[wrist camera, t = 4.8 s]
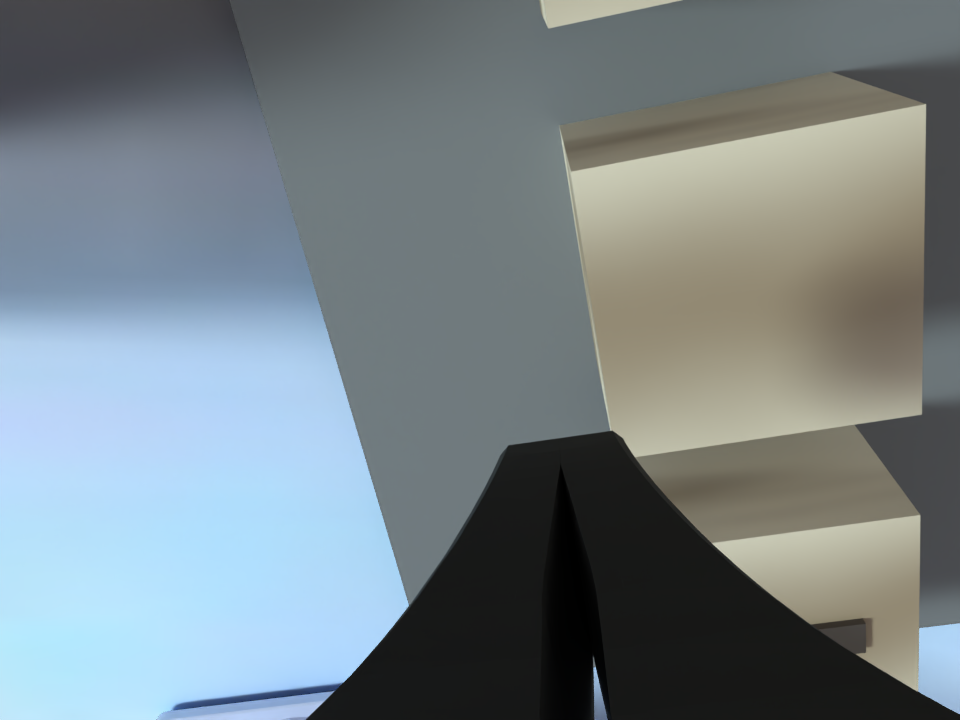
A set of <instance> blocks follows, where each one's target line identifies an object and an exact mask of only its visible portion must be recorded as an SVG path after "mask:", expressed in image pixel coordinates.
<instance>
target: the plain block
mask: <svg viewBox="0 0 960 720" xmlns="http://www.w3.org/2000/svg"><path fill="white" fill-rule="evenodd" d="M559 127H560V134H561V140H562V146H563V153H564V159H565V165H566V171H567V178H568V184H569V190H570V197H571V203H572V209H573V215H574V222H575V228H576V234H577V240H578V247H579V253H580V259H581V266H582V272H583V278H584V284H585V291H586V297H587V303H588V309H589V316H590V322H591V328H592V335H593V341H594V347H595V353H596V360H597V365H598V370H599V375H600V380H601V385H602V390H603V395H604V400H605V406H606V411H607V416H608V421H609V426H610V431H614V432H615V433H617V434H618V435H619V436H621V437H622V438H623V439H624V441H625V443H626V445H627V446H628V448H629V449H630V451H631V452H632V454H633V455H634V457H640V456H647V455H654V454H660V453H667V452H674V451H681V450H687V449H694V448H701V447H707V446H714V445H721V444H728V443H734V442H741V441H748V440H755V439H761V438H768V437H775V436H781V435H788V434H795V433H802V432H808V431H815V430H822V429H828V428H835V427H842V426H849V425H855V424H862V423H869V422H876V421H882V420H889V419H896V418H902V417H909V416H916V415H922V370H923V297H924V224H925V151H926V104H924V103H921V102H918V101H916V100H913V99H910V98H907V97H904V96H901V95H898V94H895V93H892V92H889V91H886V90H883V89H880V88H877V87H874V86H871V85H868V84H865V83H862V82H859V81H856V80H853V79H850V78H848V77H845V76H842V75H839V74H836V73H833V72H828V73H823V74H818V75H813V76H808V77H803V78H797V79H792V80H787V81H782V82H777V83H772V84H767V85H762V86H757V87H752V88H747V89H742V90H737V91H732V92H727V93H721V94H716V95H711V96H706V97H701V98H696V99H691V100H686V101H681V102H676V103H671V104H666V105H661V106H656V107H651V108H645V109H640V110H635V111H630V112H625V113H620V114H615V115H610V116H605V117H600V118H595V119H590V120H585V121H580V122H575V123H569V124H564V125H559Z"/></svg>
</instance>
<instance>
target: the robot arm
mask: <svg viewBox="0 0 960 720" xmlns="http://www.w3.org/2000/svg"><path fill="white" fill-rule="evenodd" d="M593 657H594V661H595V666H596V670H597V674H598V679H599V683H600V688H601V692H602V696H603V701H604V705H605V710H606V714H607V718H608V720H960V714H958V713H956V712H954V711H952V710H950V709H948V708H946V707H944V706H942V705H941V704H939V703H937V702H935V701H934V700H932V699H930V698H928V697H926V696H925V695H923V694H921V693H919V692H917V691H916V690H914V689H912V688H911V687H909V686H907V685H906V684H904V683H902V682H901V681H899V680H897V679H896V678H894V677H892V676H891V675H889V674H887V673H886V672H884V671H882V670H881V669H879V668H877V667H876V666H874V665H872V664H871V663H869V662H868V661H866V660H864V659H863V658H861V657H859V656H858V655H856V654H854V653H853V652H851V651H849V650H848V649H846V648H844V647H843V646H841V645H840V644H838V643H837V642H836V641H834V640H833V639H831V638H830V637H828V636H827V635H825V634H824V633H822V632H821V631H820V630H818V629H817V628H815V627H814V626H812V625H811V624H809V623H808V622H807V621H805V620H804V619H803V618H801V617H800V616H799V615H797V614H796V613H795V612H793V611H792V610H791V609H789V608H788V607H787V606H785V605H784V604H783V603H781V602H780V601H779V600H777V599H776V598H775V597H773V596H772V595H771V594H770V593H768V592H767V591H766V590H765V589H764V588H762V587H761V586H760V585H759V584H757V583H756V582H755V581H754V580H753V579H751V578H750V577H749V576H748V575H747V574H746V573H744V572H743V571H742V570H741V569H740V568H739V567H738V566H736V565H735V564H734V563H733V562H732V561H731V560H730V559H729V558H728V557H726V556H725V555H724V554H723V553H722V552H721V551H720V550H719V549H718V548H716V547H715V546H714V545H713V544H712V543H711V542H710V541H709V540H708V539H707V538H706V537H705V536H704V535H703V534H702V533H701V532H700V531H699V530H698V529H697V528H696V527H695V526H694V525H693V524H692V523H691V522H690V521H689V520H688V519H687V518H686V517H685V516H684V515H683V514H682V512H681V511H680V510H679V509H678V508H677V507H676V506H675V505H674V504H673V503H672V502H671V501H670V500H669V499H668V498H667V496H666V495H665V494H664V493H663V492H662V491H661V490H660V488H659V487H658V486H657V485H656V484H655V483H654V481H653V480H652V479H651V478H650V476H649V475H648V474H647V473H646V471H645V470H644V469H643V468H642V466H641V465H640V464H639V462H638V461H637V460H636V458H635V457H634V455H633V454H632V452H631V451H630V449H629V448H628V446H627V445H626V443H625V441H624V439H623V438H622V437H621V436H619V435H618V434H617V433H615V432H614V431H606V432H599V433H592V434H585V435H578V436H571V437H564V438H557V439H550V440H542V441H535V442H528V443H521V444H514V445H508V446H507V448H506V449H505V450H504V451H503V453H502V454H501V455H500V457H499V459H498V462H497V464H496V466H495V468H494V470H493V472H492V474H491V476H490V478H489V480H488V482H487V484H486V486H485V488H484V490H483V492H482V493H481V495H480V497H479V499H478V501H477V503H476V504H475V506H474V508H473V510H472V512H471V513H470V515H469V517H468V518H467V520H466V521H465V523H464V525H463V526H462V528H461V530H460V531H459V533H458V535H457V536H456V538H455V540H454V541H453V543H452V545H451V546H450V548H449V549H448V551H447V553H446V554H445V556H444V557H443V559H442V560H441V562H440V563H439V564H438V566H437V567H436V569H435V570H434V572H433V573H432V574H431V576H430V577H429V579H428V580H427V581H426V583H425V584H424V586H423V587H422V589H421V590H420V591H419V593H418V594H417V596H416V597H415V599H414V600H413V601H412V603H411V604H410V605H409V607H408V608H407V609H406V611H405V612H404V613H403V615H402V616H401V617H400V618H399V620H398V621H397V622H396V623H395V625H394V626H393V627H392V628H391V630H390V631H389V632H388V633H387V635H386V636H385V637H384V638H383V639H382V641H381V642H380V643H379V644H378V645H377V646H376V648H375V649H374V650H373V651H372V652H371V653H370V654H369V656H368V657H367V658H366V659H365V660H364V661H363V662H362V664H361V665H360V666H359V667H358V668H357V669H356V670H355V671H354V673H353V674H352V675H351V676H350V677H349V678H348V679H347V680H346V681H345V682H344V683H343V684H342V685H341V686H340V687H339V688H338V689H337V690H335V691H330V692H322V693H314V694H306V695H297V696H289V697H281V698H273V699H264V700H256V701H248V702H240V703H231V704H223V705H215V706H207V707H198V708H190V709H182V710H173V711H167V712H163V713H161V714H160V715H159V716H158V717H157V719H156V720H594V673H593Z"/></svg>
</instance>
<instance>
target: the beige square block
mask: <svg viewBox="0 0 960 720" xmlns="http://www.w3.org/2000/svg"><path fill="white" fill-rule="evenodd" d="M635 458H636V460H637V461H638V462H639V464H640V465H641V466H642V468H643V469H644V470H645V471H646V473H647V474H648V475H649V476H650V478H651V479H652V480H653V481H654V483H655V484H656V485H657V486H658V487H659V488H660V490H661V491H662V492H663V493H664V494H665V495H666V496H667V498H668V499H669V500H670V501H671V502H672V503H673V504H674V505H675V506H676V507H677V508H678V509H679V510H680V511H681V512H682V514H683V515H684V516H685V517H686V518H687V519H688V520H689V521H690V522H691V523H692V524H693V525H694V526H695V527H696V528H697V529H698V530H699V531H700V532H701V533H702V534H703V535H704V536H705V537H706V538H707V539H708V540H709V541H710V542H711V543H712V544H713V545H714V546H715V547H716V548H718V549H719V550H720V551H721V552H722V553H723V554H724V555H725V556H726V557H728V558H729V559H730V560H731V561H732V562H733V563H734V564H735V565H736V566H738V567H739V568H740V569H741V570H742V571H743V572H744V573H746V574H747V575H748V576H749V577H750V578H751V579H753V580H754V581H755V582H756V583H757V584H759V585H760V586H761V587H762V588H764V589H765V590H766V591H767V592H768V593H770V594H771V595H772V596H773V597H775V598H776V599H777V600H779V601H780V602H781V603H783V604H784V605H785V606H787V607H788V608H789V609H791V610H792V611H793V612H795V613H796V614H797V615H799V616H800V617H801V618H803V619H804V620H805V621H807V622H808V623H809V624H811V625H812V626H814V627H815V628H817V629H818V630H820V631H821V632H822V633H824V634H825V635H827V636H828V637H830V638H831V639H833V640H834V641H836V642H837V643H838V644H840V645H841V646H843V647H844V648H846V649H848V650H849V651H851V652H853V653H854V654H856V655H858V656H859V657H861V658H863V659H864V660H866V661H868V662H869V663H871V664H872V665H874V666H876V667H877V668H879V669H881V670H882V671H884V672H886V673H887V674H889V675H891V676H892V677H894V678H896V679H897V680H899V681H901V682H902V683H904V684H906V685H907V686H909V687H911V688H912V689H914V690H916V691H917V692H918V661H919V588H920V514H919V512H918V511H917V509H916V508H915V507H914V505H913V504H912V503H911V501H910V500H909V499H908V497H907V496H906V494H905V493H904V492H903V490H902V489H901V488H900V486H899V485H898V484H897V482H896V481H895V479H894V478H893V477H892V475H891V474H890V473H889V471H888V470H887V469H886V467H885V466H884V464H883V463H882V462H881V460H880V459H879V458H878V456H877V455H876V454H875V452H874V451H873V449H872V448H871V447H870V445H869V444H868V443H867V441H866V440H865V438H864V437H863V436H862V434H861V433H860V432H859V430H858V429H857V428H856V426H855V425H849V426H842V427H835V428H828V429H822V430H815V431H808V432H802V433H795V434H788V435H781V436H775V437H768V438H761V439H755V440H748V441H741V442H734V443H728V444H721V445H714V446H707V447H701V448H694V449H687V450H681V451H674V452H667V453H660V454H654V455H647V456H640V457H635Z"/></svg>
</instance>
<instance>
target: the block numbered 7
mask: <svg viewBox="0 0 960 720" xmlns="http://www.w3.org/2000/svg"><path fill="white" fill-rule="evenodd" d="M676 1H681V0H539V2H540V8H541V14H542V16H543V18H544V20H545V22H546V25H547V27H548V29H549V28H553V27H558V26H563V25H568V24H572V23H577V22H582V21H586V20H591V19H596V18H601V17H605V16H610V15H615V14H620V13H624V12H629V11H634V10H639V9H643V8H648V7H653V6H657V5H662V4H667V3H672V2H676Z"/></svg>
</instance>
